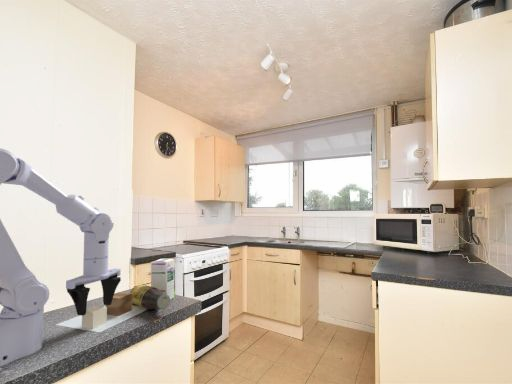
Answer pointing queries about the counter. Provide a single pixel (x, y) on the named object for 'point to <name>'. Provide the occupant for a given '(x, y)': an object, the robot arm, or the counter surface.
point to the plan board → (111, 322)
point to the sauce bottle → (149, 297)
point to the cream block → (94, 317)
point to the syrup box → (164, 276)
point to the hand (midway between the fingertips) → (95, 309)
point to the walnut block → (120, 304)
